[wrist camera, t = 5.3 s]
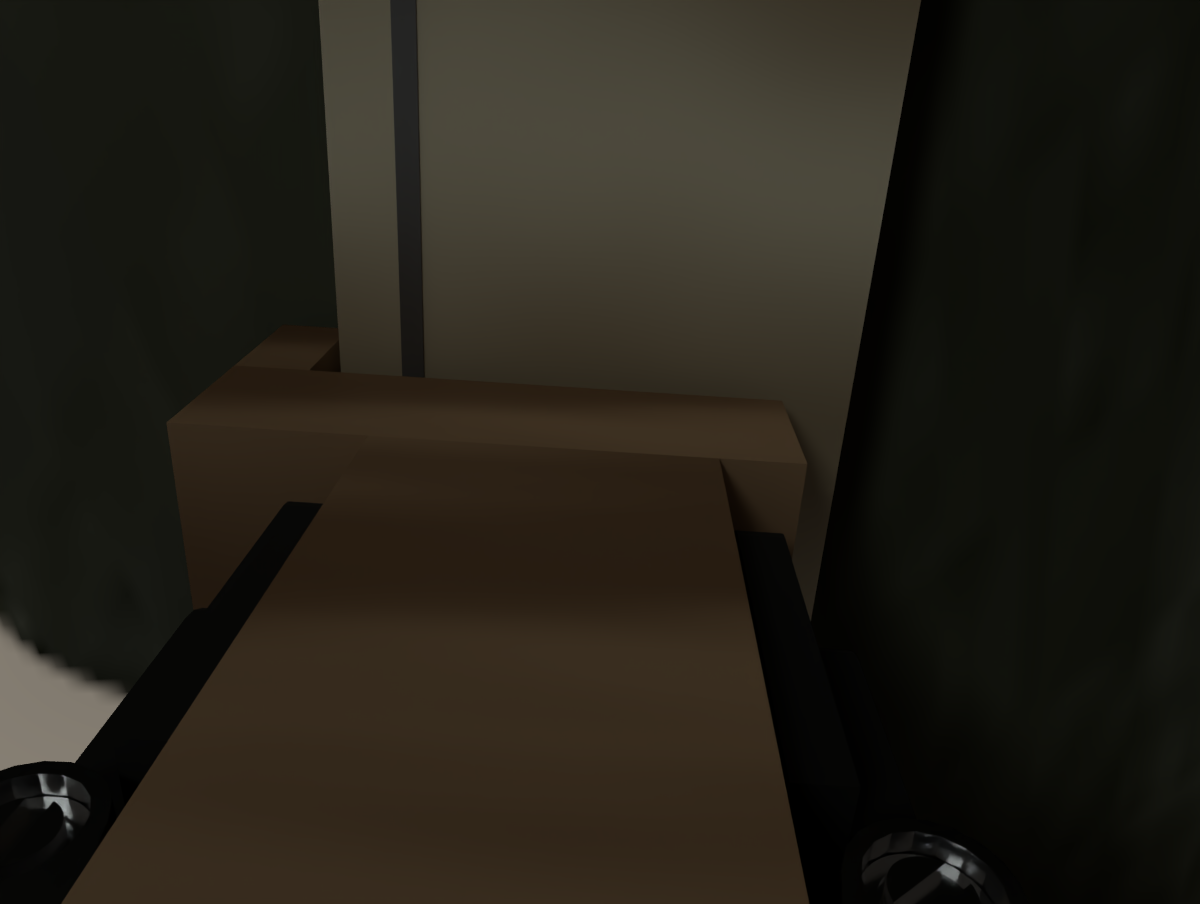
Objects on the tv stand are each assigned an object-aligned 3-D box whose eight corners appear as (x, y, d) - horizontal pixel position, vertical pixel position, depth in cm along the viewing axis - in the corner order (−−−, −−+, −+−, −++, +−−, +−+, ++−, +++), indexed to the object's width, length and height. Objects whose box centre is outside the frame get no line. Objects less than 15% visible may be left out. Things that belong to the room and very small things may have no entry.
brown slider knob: (283, 324, 14) (-526, 1006, 4) (763, 355, 14) (1070, 1114, 4) (302, 553, 16) (-250, 1426, 6) (733, 581, 16) (902, 1509, 6)
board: (353, -242, 12) (300, -294, 10) (913, -208, 12) (966, -253, 10) (391, 671, 17) (363, 747, 16) (767, 696, 17) (783, 775, 16)
